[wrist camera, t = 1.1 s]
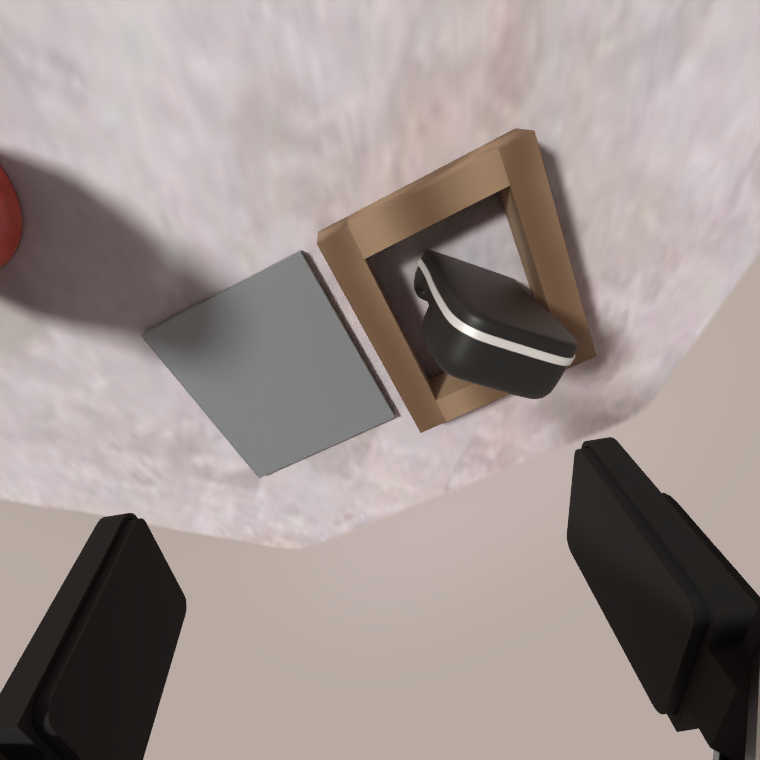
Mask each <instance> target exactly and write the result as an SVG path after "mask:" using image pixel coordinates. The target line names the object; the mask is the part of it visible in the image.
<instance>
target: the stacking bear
mask: <svg viewBox="0 0 760 760" xmlns="http://www.w3.org/2000/svg"><path fill="white" fill-rule="evenodd" d="M21 232H22V216H21V209H20V205H19V202H18V199H17V196H16V193H15V191H14V188H13V186H12V184H11V182H10V181H9V179H8V177H7V175H6V174H5V172H4V171H3V169H2V168H1V166H0V267H1V266H3V265H4V264H5V263H6V262H7V261H8V260H9V259H10V258H11V257H12V256H13V254H14V253H15V251H16V249H17V247H18V245H19V242H20V238H21Z"/></svg>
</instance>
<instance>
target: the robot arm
mask: <svg viewBox="0 0 760 760" xmlns="http://www.w3.org/2000/svg"><path fill="white" fill-rule="evenodd" d="M567 541H568V546H569V549H570V551H571V553H572V555H573V557H574V559H575V561H576V563H577V565H578V566H579V568H580V570H581V572H582V574H583V576H584V578H585V579H586V581H587V583H588V585H589V587H590V589H591V591H592V593H593V594H594V596H595V598H596V600H597V602H598V604H599V605H600V607H601V609H602V611H603V613H604V615H605V617H606V619H607V620H608V622H609V624H610V626H611V628H612V630H613V632H614V633H615V635H616V637H617V639H618V641H619V643H620V645H621V647H622V648H623V650H624V652H625V654H626V656H627V658H628V660H629V662H630V663H631V665H632V667H633V669H634V671H635V673H636V674H637V676H638V678H639V680H640V682H641V684H642V686H643V688H644V689H645V691H646V693H647V695H648V697H649V699H650V701H651V703H652V704H653V706H654V708H655V709H656V710H657V711H658V712H659V713H660V714H667V715H668V717H669V718H670V720H671V722H672V724H673V726H674V727H675V729H676V731H677V732H679V731H685V730H692V729H698V728H699V729H700V731H701V733H702V735H703V736H704V738H705V740H706V741H707V743H708V745H709V746H710V748H712V749H713V750H714V755H713V760H760V597H759V595H757V593H756V592H755V591H754V590H753V589H752V587H751V586H750V585H749V584H748V583H747V582H746V581H745V580H744V578H743V577H741V575H740V574H739V573H738V571H737V570H736V569H735V568H734V567H733V566H732V565H731V563H730V562H729V561H728V560H727V559H726V558H725V557H724V555H723V554H722V553H721V552H720V551H719V550H718V549H717V548H716V546H714V544H713V543H712V542H711V541H710V539H709V538H708V537H707V536H706V535H705V534H704V533H703V532H702V530H701V529H700V528H699V527H698V526H697V525H696V523H695V522H694V521H693V520H692V519H691V518H690V516H689V515H688V514H687V513H686V512H685V511H684V510H683V509H682V507H681V506H680V505H679V504H678V503H677V502H676V501H675V500H674V499H673V498H672V497H671V496H669V495H667V494H665V493H661V492H660V491H659V490H658V488H657V487H656V486H655V485H654V484H653V483H652V481H651V480H650V479H649V478H648V477H647V476H646V475H645V473H644V472H643V471H642V470H641V469H640V467H639V466H638V465H637V464H636V463H635V462H634V460H633V459H632V458H631V457H630V456H629V454H628V453H627V452H626V451H625V450H624V449H623V447H622V446H621V445H620V444H619V443H618V442H617V441H616V440H615V439H614V438H611V437H609V438H603V439H597V440H590V441H585V442H584V443H583V444H582V448H581V449H577V450H576V451H575V455H574V465H573V476H572V487H571V497H570V507H569V518H568V528H567ZM185 613H186V599H185V596H184V594H183V592H182V590H181V588H180V586H179V584H178V583H177V581H176V579H175V577H174V575H173V573H172V571H171V569H170V567H169V565H168V563H167V561H166V560H165V558H164V556H163V554H162V552H161V550H160V548H159V546H158V544H157V542H156V541H155V539H154V537H153V535H152V533H151V531H150V529H149V527H148V525H147V523H146V522H145V520H144V519H142V518H140V519H138V518H137V517H136V515H134V514H133V513H127V514H121V515H114V516H108V517H103V518H102V519H100V521H99V522H98V523H97V525H96V527H95V528H94V530H93V532H92V534H91V535H90V537H89V539H88V541H87V542H86V544H85V546H84V548H83V549H82V551H81V553H80V555H79V557H78V558H77V560H76V562H75V563H74V565H73V567H72V569H71V570H70V572H69V574H68V576H67V577H66V579H65V581H64V583H63V585H62V586H61V588H60V590H59V591H58V593H57V595H56V597H55V599H54V600H53V602H52V604H51V605H50V607H49V609H48V611H47V612H46V615H45V616H44V618H43V620H42V621H41V623H40V625H39V627H38V628H37V630H36V632H35V634H34V635H33V637H32V639H31V641H30V642H29V644H28V646H27V648H26V649H25V651H24V653H23V655H22V656H21V658H20V660H19V662H18V663H17V665H16V667H15V669H14V671H13V672H12V674H11V676H10V677H9V679H8V681H7V683H6V684H5V686H4V688H3V690H2V691H1V693H0V760H143V757H144V754H145V751H146V747H147V744H148V740H149V737H150V734H151V730H152V727H153V723H154V720H155V716H156V713H157V710H158V706H159V703H160V699H161V696H162V693H163V689H164V686H165V682H166V679H167V675H168V672H169V669H170V665H171V662H172V658H173V655H174V651H175V648H176V645H177V641H178V638H179V635H180V631H181V628H182V624H183V621H184V617H185Z"/></svg>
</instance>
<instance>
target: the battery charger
mask: <svg viewBox="0 0 760 760" xmlns="http://www.w3.org/2000/svg"><path fill="white" fill-rule="evenodd" d="M418 265H419V266H418V268H417V271H416V273H415V279H414V289H415V292H416V294H417V295H418V297H420V298H421V299H423V300H425V301H428V304H429V307H428V309H427V312H426V314H425V317H424V320H423V323H422V334H423V336H424V339H425V341H426V344H427V346H428V348H429V350H430V352H431V354H432V356H433V358H434V360H435V362H436V363H437V365H438V366H439V367H440V368H441V369H442V370H443V371H444V372H446V373H447V374H449V375H450V376H452V377H455V378H458V379H461V380H464V381H467V382H471V383H474V384H478V385H481V386H485V387H488V388H491V389H495V390H499V391H502V392H506V393H510V394H514V395H517V396H521V397H525V398H530V399H539V398H543V397H544V396H546V395H548V394H549V393H551V391H552V390H553V389H554V387H555V386H556V384H557V383H558V381H559V379H560V378H561V376H562V374H563V373H564V371H565V369H566V368H567V366H569V365H571V363H572V362H573V360H574V358H575V353H576V351H577V349H578V344H577V341H576V340H575V338H574V337H573V336H572V335H571V334H570V333H569V332H568V331H567V330H566V329H565V328H564V327H563V326H562V325H561V324H560V323H559V322H558V321H557V320H556V319H555V318H554V317H553V316H552V315H551V314H549V313H548V312H547V311H546V310H545V309H544V308H543V307H542V306H541V305H539V304H538V303H537V302H536V301H535V300H534V299H533V298H532V297H530V296H529V295H528V294H527V293H526V292H525V291H524V290H523V289H522V288H521V287H520V286H519V285H518V284H517V283H516V282H515V281H514V280H513V279H511V278H509V277H506V276H503V275H500V274H497V273H495V272H492V271H489V270H486V269H483V268H480V267H477V266H475V265H472V264H469V263H466V262H463V261H460V260H457V259H454V258H451V257H448V256H445V255H443V254H440V253H437V252H434V251H430V250H426V251H425V252H424V253H423V255H422V258H420V259H419V262H418Z"/></svg>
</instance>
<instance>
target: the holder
mask: <svg viewBox="0 0 760 760" xmlns="http://www.w3.org/2000/svg"><path fill="white" fill-rule="evenodd" d="M498 191H499V194H500V197H501V200H502V203H503V207H504V210H505V213H506V216H507V219H508V222H509V225H510V228H511V231H512V234H513V237H514V240H515V243H516V246H517V249H518V252H519V255H520V258H521V261H522V264H523V267H524V270H525V273H526V276H527V279H528V282H529V286H530V289H531V292H532V295H533V298H534V300H535V301H536V302H537V303H538V304H539V305H541V306H542V307H543V308H544V309H545V310H546V311H547V312H548V313H549V314H551V315H552V316H553V317H554V318H555V319H556V320H557V321H558V322H559V323H560V324H561V325H562V326H563V327H564V328H565V329H566V330H567V331H568V332H569V333H570V334H571V335H572V336H573V337H574V338H575V340H576V341H577V344H578V349H577V351H576V353H575V358H574V360H573V362H572V363H571V365H569V366H567V368H566V369H568V368H570V367H572V366H575V365H577V364H579V363H582V362H584V361H586V360H588V359H591V358H593V357H595V356H596V354H595V350H594V346H593V343H592V339H591V336H590V332H589V328H588V325H587V321H586V317H585V314H584V310H583V306H582V303H581V299H580V295H579V292H578V288H577V284H576V281H575V277H574V274H573V270H572V266H571V263H570V259H569V255H568V252H567V248H566V244H565V241H564V237H563V233H562V230H561V226H560V222H559V219H558V215H557V212H556V208H555V204H554V201H553V197H552V193H551V190H550V186H549V182H548V179H547V175H546V171H545V168H544V164H543V160H542V157H541V153H540V150H539V146H538V142H537V139H536V135H535V131H533V130H524V129H514V130H512V131H510V132H508V133H506V134H504V135H502V136H500V137H499V138H497V139H495V140H493V141H491V142H489V143H487V144H485V145H483V146H481V147H479V148H478V149H476V150H474V151H472V152H470V153H468V154H466V155H464V156H462V157H460V158H458V159H457V160H455V161H453V162H451V163H449V164H447V165H445V166H443V167H441V168H439V169H437V170H436V171H434V172H432V173H430V174H428V175H426V176H424V177H422V178H420V179H418V180H416V181H415V182H413V183H411V184H409V185H407V186H405V187H403V188H401V189H399V190H397V191H396V192H394V193H392V194H390V195H388V196H386V197H384V198H382V199H380V200H378V201H376V202H375V203H373V204H371V205H369V206H367V207H365V208H363V209H361V210H359V211H357V212H355V213H354V214H352V215H350V216H348V217H346V218H344V219H342V220H340V221H338V222H336V223H334V224H333V225H331V226H329V227H327V228H325V229H323V230H321V231H319V232H318V239H317V245H318V247H319V249H320V250H321V252H322V254H323V256H324V258H325V259H326V261H327V263H328V265H329V267H330V269H331V270H332V272H333V274H334V276H335V278H336V279H337V281H338V283H339V285H340V287H341V289H342V290H343V292H344V294H345V296H346V298H347V299H348V301H349V303H350V305H351V307H352V309H353V310H354V312H355V314H356V316H357V318H358V320H359V321H360V323H361V325H362V327H363V329H364V330H365V332H366V334H367V336H368V338H369V340H370V341H371V343H372V345H373V347H374V349H375V350H376V352H377V354H378V356H379V358H380V360H381V361H382V363H383V365H384V367H385V369H386V370H387V372H388V374H389V376H390V378H391V380H392V381H393V383H394V385H395V387H396V389H397V391H398V392H399V394H400V396H401V398H402V400H403V401H404V403H405V405H406V407H407V409H408V411H409V412H410V414H411V416H412V418H413V420H414V421H415V423H416V425H417V427H418V429H419V431H420V432H421V433H422V432H424V431H426V430H428V429H431V428H433V427H435V426H438V425H440V424H442V423H444V422H447V421H449V420H451V419H454V418H456V417H458V416H460V415H463V414H465V413H467V412H470V411H472V410H474V409H476V408H479V407H481V406H483V405H486V404H488V403H490V402H492V401H495V400H497V399H499V398H502V397H504V396H506V395H508V394H510V393H506V392H502V391H499V390H495V389H491V388H488V387H485V386H481V385H478V384H474V383H471V382H467V381H464V380H461V379H458V378H455V377H452V376H450V375H449V374H447V373H446V372H443V373H441V374H439V375H437V376H434V377H432V378H430V379H428V378H427V376H426V374H425V372H424V370H423V368H422V366H421V364H420V362H419V360H418V358H417V356H416V354H415V352H414V350H413V348H412V346H411V344H410V342H409V340H408V338H407V336H406V334H405V332H404V330H403V328H402V326H401V324H400V322H399V320H398V318H397V316H396V314H395V312H394V310H393V308H392V306H391V304H390V302H389V300H388V298H387V296H386V294H385V292H384V290H383V288H382V286H381V284H380V282H379V280H378V278H377V276H376V274H375V272H374V270H373V268H372V266H371V264H370V262H369V260H368V257H370V256H371V255H373V254H375V253H377V252H379V251H381V250H383V249H385V248H387V247H389V246H391V245H393V244H395V243H397V242H399V241H401V240H403V239H405V238H407V237H409V236H411V235H413V234H415V233H417V232H419V231H421V230H423V229H425V228H427V227H429V226H431V225H433V224H435V223H437V222H439V221H441V220H443V219H445V218H447V217H449V216H451V215H452V214H454V213H456V212H458V211H460V210H462V209H464V208H466V207H468V206H470V205H472V204H474V203H476V202H478V201H480V200H482V199H484V198H486V197H488V196H490V195H492V194H494V193H496V192H498ZM566 369H565V370H566Z"/></svg>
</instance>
